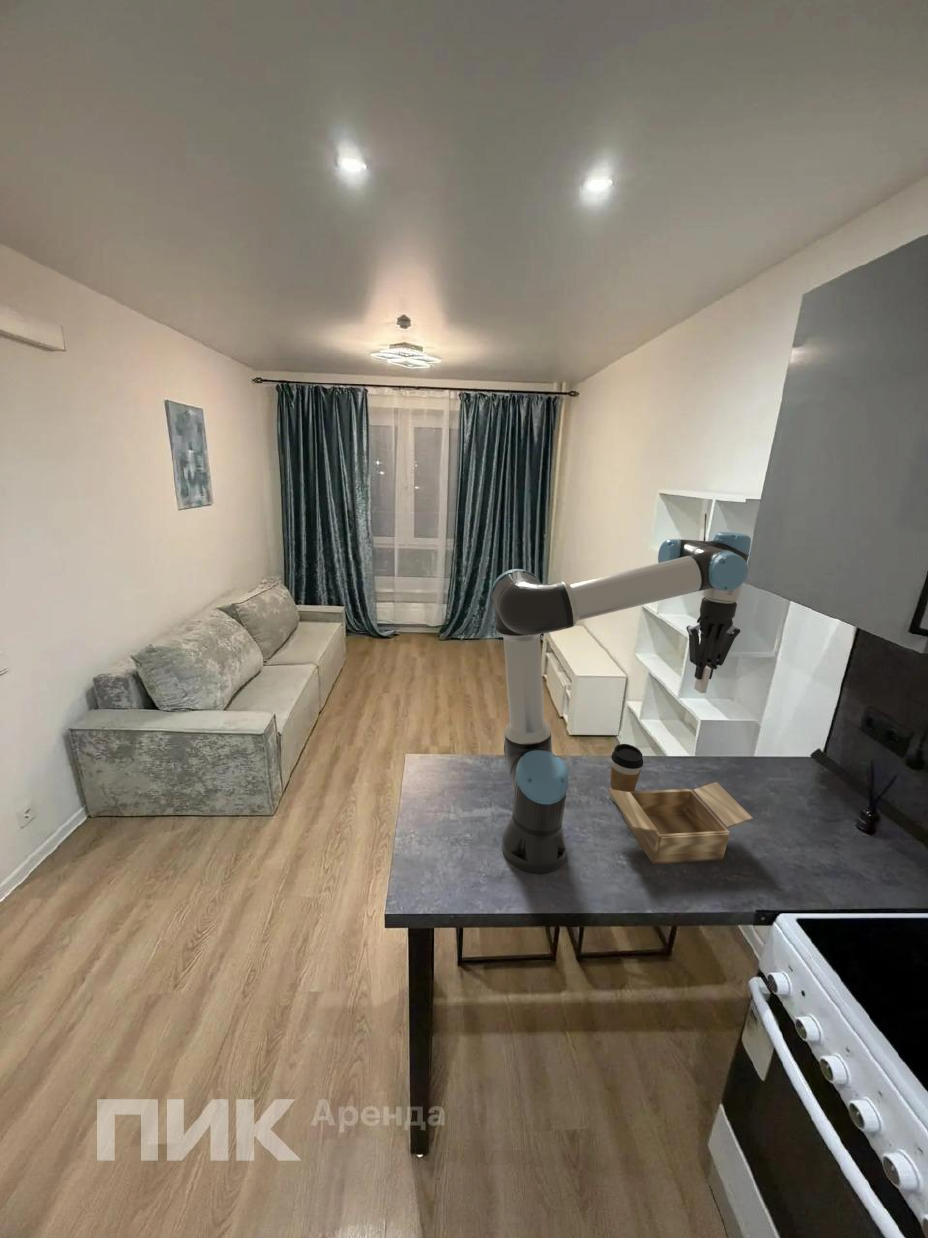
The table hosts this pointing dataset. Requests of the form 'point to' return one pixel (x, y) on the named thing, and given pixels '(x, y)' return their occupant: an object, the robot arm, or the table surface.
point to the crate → (679, 828)
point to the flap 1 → (632, 810)
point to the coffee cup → (625, 768)
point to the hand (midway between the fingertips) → (699, 690)
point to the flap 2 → (722, 804)
